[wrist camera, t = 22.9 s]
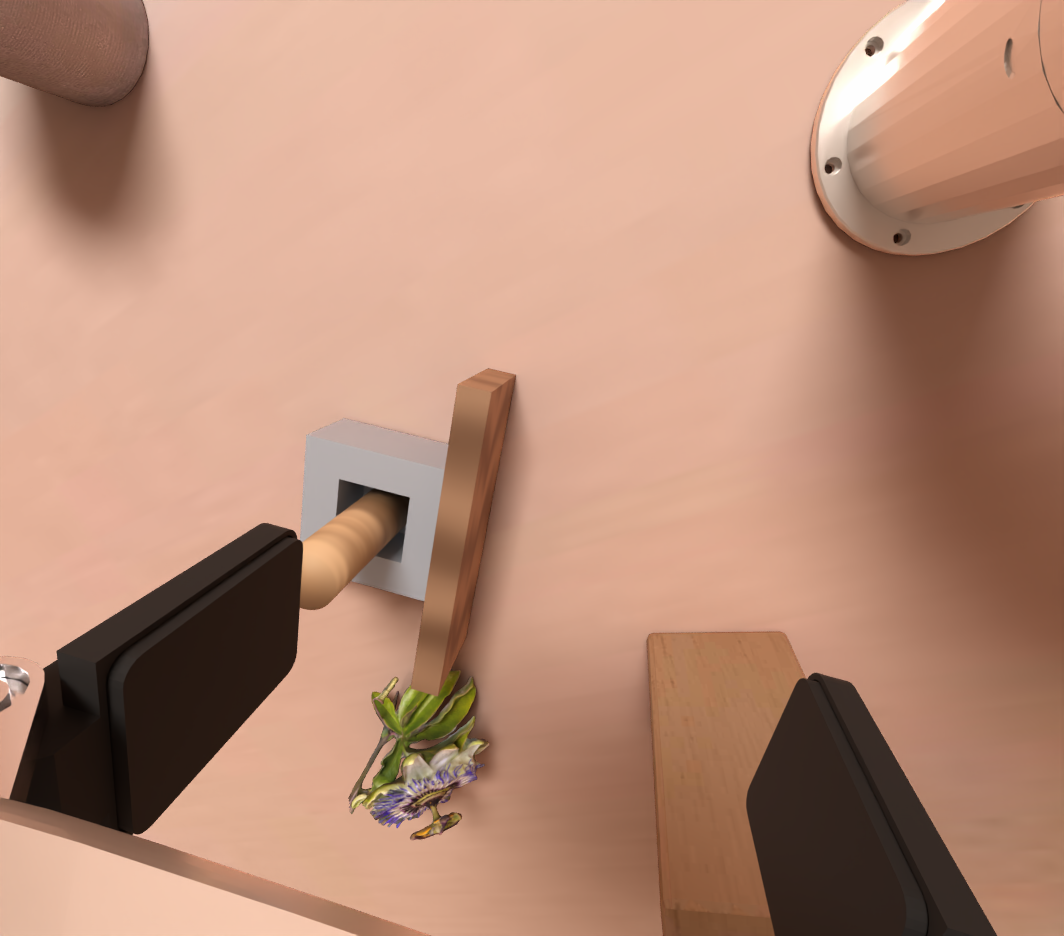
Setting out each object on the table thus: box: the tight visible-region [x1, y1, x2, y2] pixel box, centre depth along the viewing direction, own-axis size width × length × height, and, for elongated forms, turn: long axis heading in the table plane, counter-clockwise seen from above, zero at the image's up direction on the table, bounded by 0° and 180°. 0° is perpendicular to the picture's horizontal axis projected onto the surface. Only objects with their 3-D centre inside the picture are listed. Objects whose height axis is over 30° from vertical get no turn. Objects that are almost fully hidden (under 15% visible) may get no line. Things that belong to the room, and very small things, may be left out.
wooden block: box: [647, 632, 806, 936], centre depth 32 cm, size 10×10×20 cm
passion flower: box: [348, 670, 489, 840], centre depth 44 cm, size 11×11×12 cm
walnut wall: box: [411, 369, 516, 696], centre depth 38 cm, size 22×2×7 cm, turn 168°
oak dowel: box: [300, 488, 410, 610], centre depth 35 cm, size 4×4×12 cm
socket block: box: [300, 418, 448, 601], centre depth 39 cm, size 10×10×5 cm
